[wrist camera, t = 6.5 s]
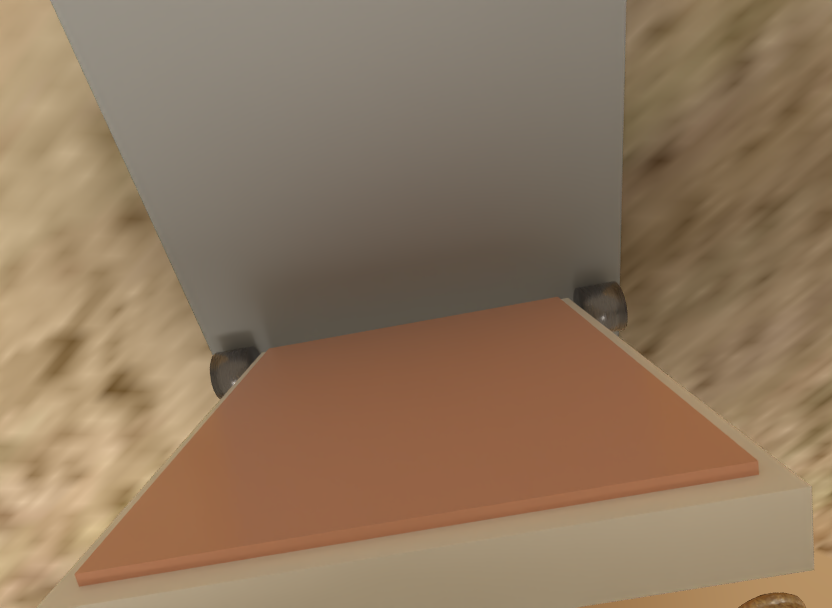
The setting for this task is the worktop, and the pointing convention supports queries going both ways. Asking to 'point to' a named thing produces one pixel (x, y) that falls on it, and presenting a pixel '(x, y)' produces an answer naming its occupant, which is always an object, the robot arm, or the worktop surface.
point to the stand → (366, 156)
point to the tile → (451, 480)
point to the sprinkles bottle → (774, 601)
